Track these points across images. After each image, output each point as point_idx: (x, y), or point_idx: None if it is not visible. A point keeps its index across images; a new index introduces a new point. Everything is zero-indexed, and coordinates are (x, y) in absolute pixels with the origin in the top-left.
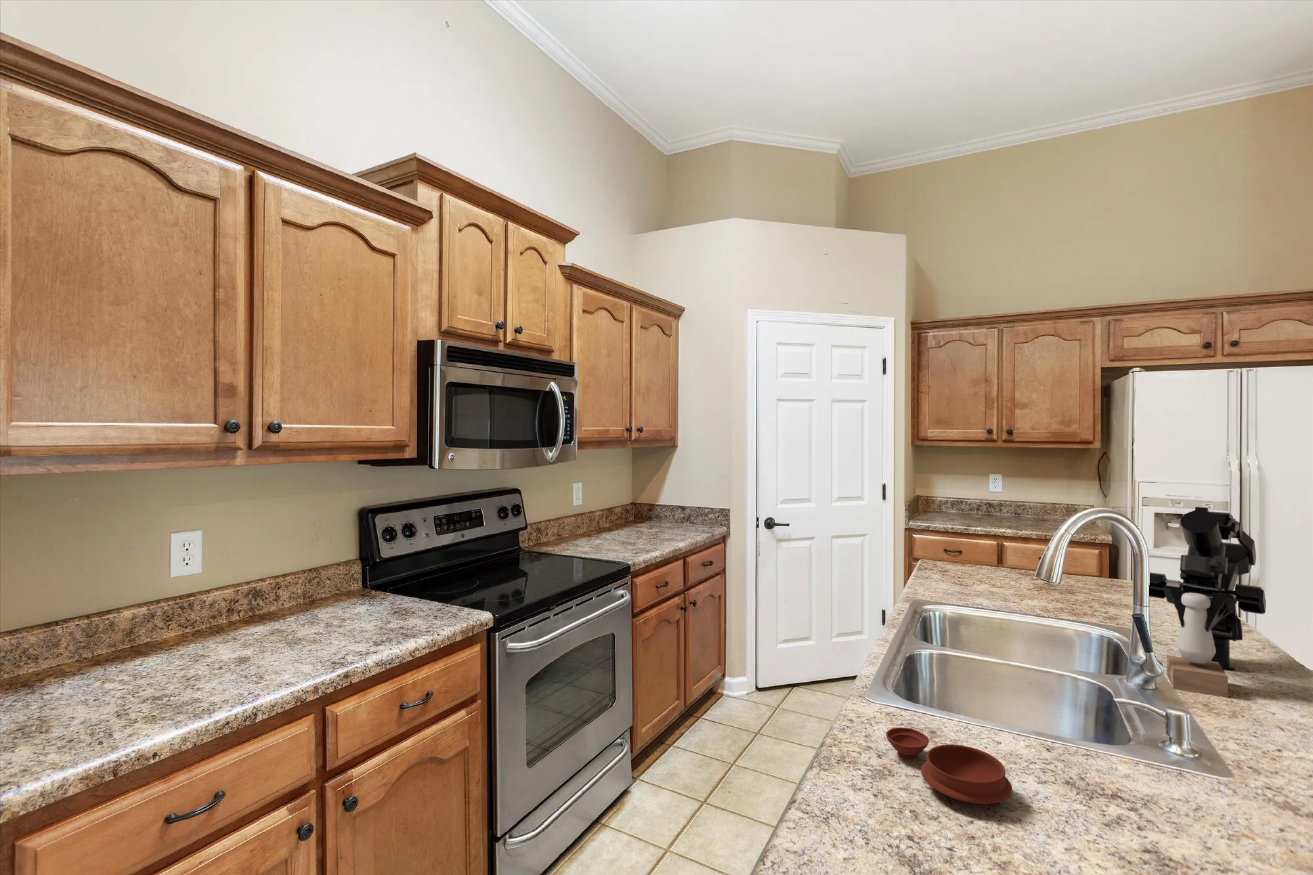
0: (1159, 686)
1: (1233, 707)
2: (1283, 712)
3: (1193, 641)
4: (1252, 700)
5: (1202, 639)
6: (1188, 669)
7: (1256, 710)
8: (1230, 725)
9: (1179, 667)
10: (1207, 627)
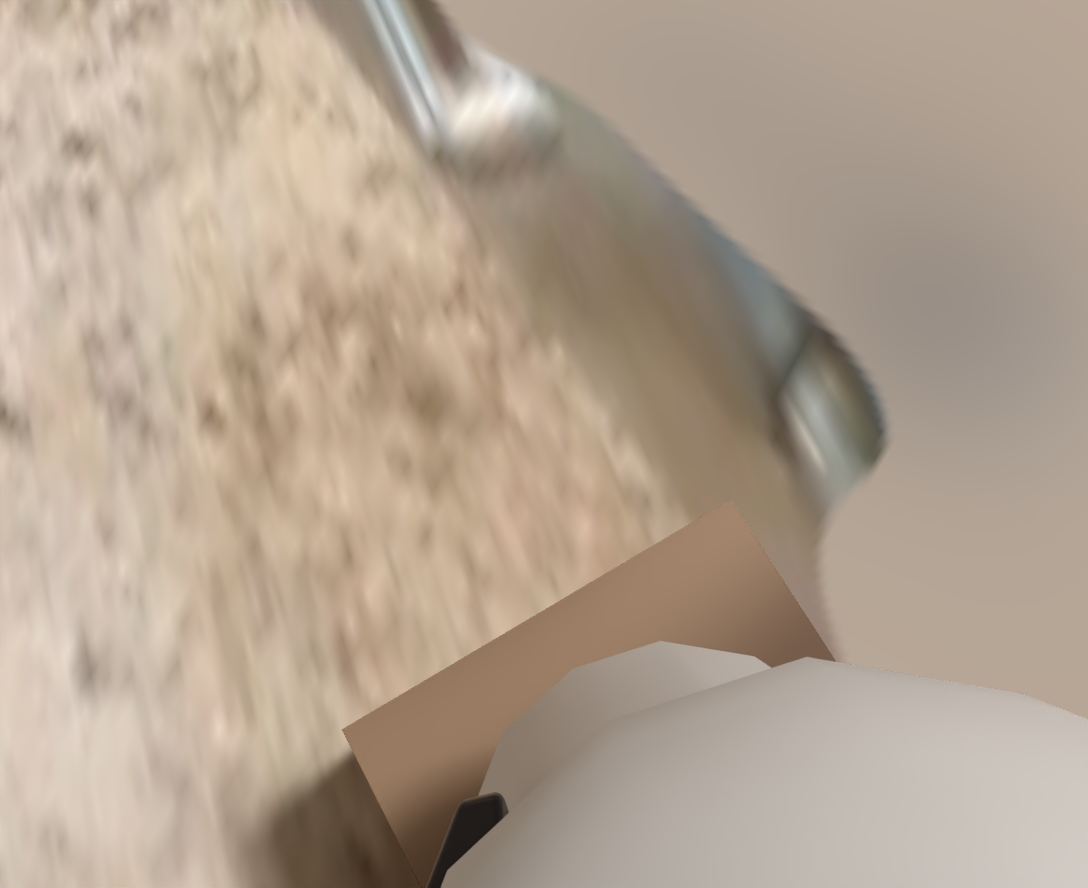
0: (787, 492)
1: (296, 533)
2: (44, 764)
3: (639, 670)
4: (255, 840)
5: (543, 731)
6: (637, 600)
7: (178, 622)
8: (211, 186)
9: (711, 580)
10: (471, 818)
